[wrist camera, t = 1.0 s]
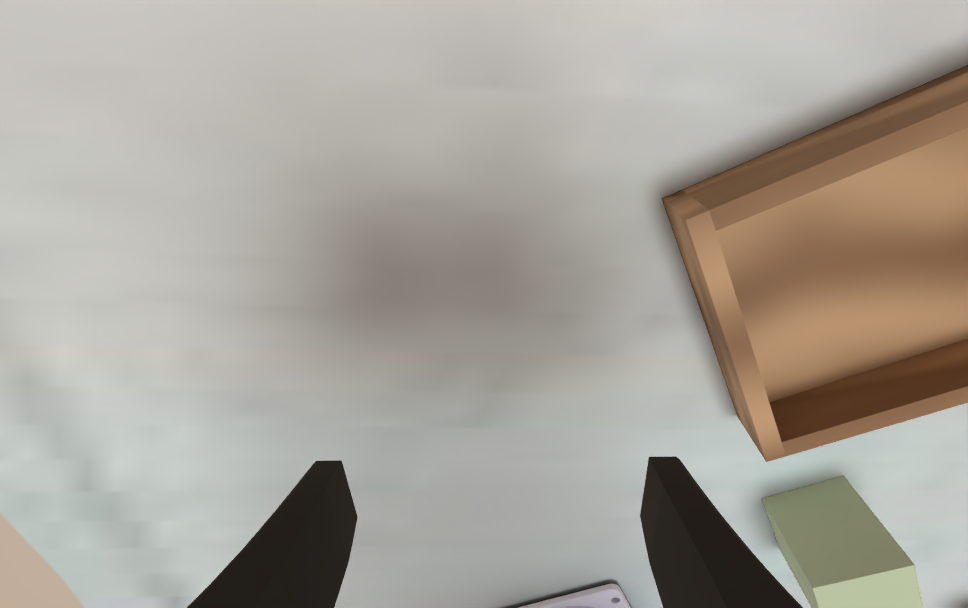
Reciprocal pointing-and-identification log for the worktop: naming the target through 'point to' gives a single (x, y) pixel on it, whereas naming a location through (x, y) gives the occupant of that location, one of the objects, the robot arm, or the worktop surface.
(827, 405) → the walnut tray
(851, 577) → the sage block
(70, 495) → the worktop surface
